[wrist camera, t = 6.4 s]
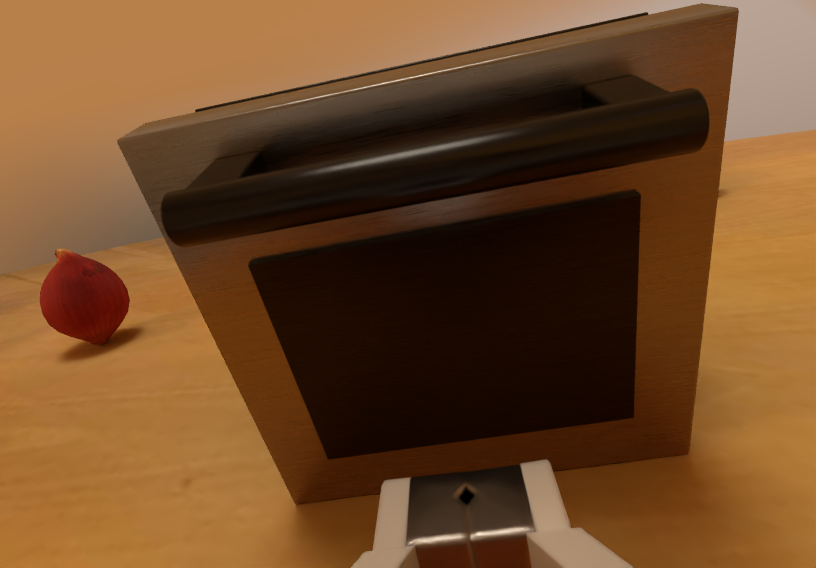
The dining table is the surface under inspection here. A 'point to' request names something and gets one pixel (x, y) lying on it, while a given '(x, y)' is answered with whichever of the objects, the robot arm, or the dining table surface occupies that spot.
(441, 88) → the dishwasher door
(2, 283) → the dining table surface
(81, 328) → the onion
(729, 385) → the dining table surface
